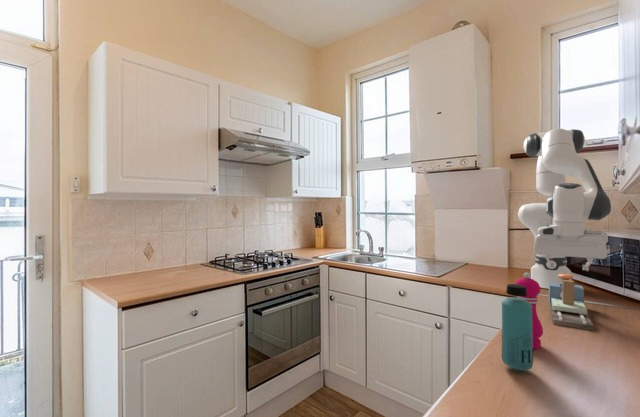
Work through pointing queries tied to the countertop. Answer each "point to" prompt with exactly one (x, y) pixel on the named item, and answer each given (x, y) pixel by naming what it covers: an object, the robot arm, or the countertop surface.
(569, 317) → the track
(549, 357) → the countertop surface
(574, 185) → the robot arm
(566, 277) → the orange rounded knob
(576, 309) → the carriage
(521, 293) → the beverage bottle
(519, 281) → the pepper mill
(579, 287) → the blue side pieces
